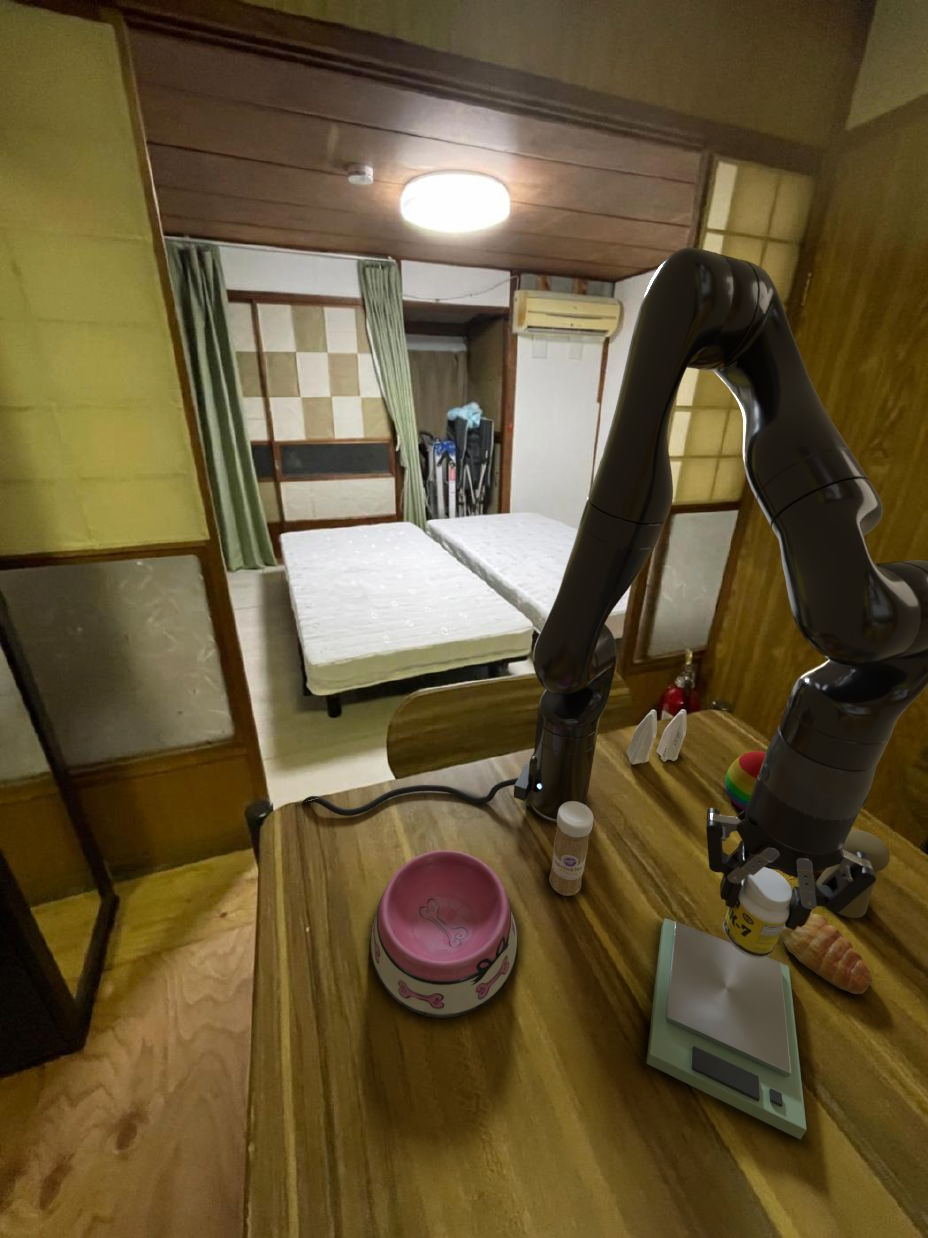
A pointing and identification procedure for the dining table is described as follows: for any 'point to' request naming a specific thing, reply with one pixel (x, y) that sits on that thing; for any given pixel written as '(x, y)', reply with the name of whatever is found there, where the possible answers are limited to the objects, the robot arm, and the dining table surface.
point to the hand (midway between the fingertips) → (757, 909)
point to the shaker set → (647, 734)
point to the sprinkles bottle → (570, 847)
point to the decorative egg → (743, 777)
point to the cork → (879, 861)
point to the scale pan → (728, 998)
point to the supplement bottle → (759, 913)
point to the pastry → (827, 954)
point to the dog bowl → (444, 935)
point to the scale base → (726, 1058)
